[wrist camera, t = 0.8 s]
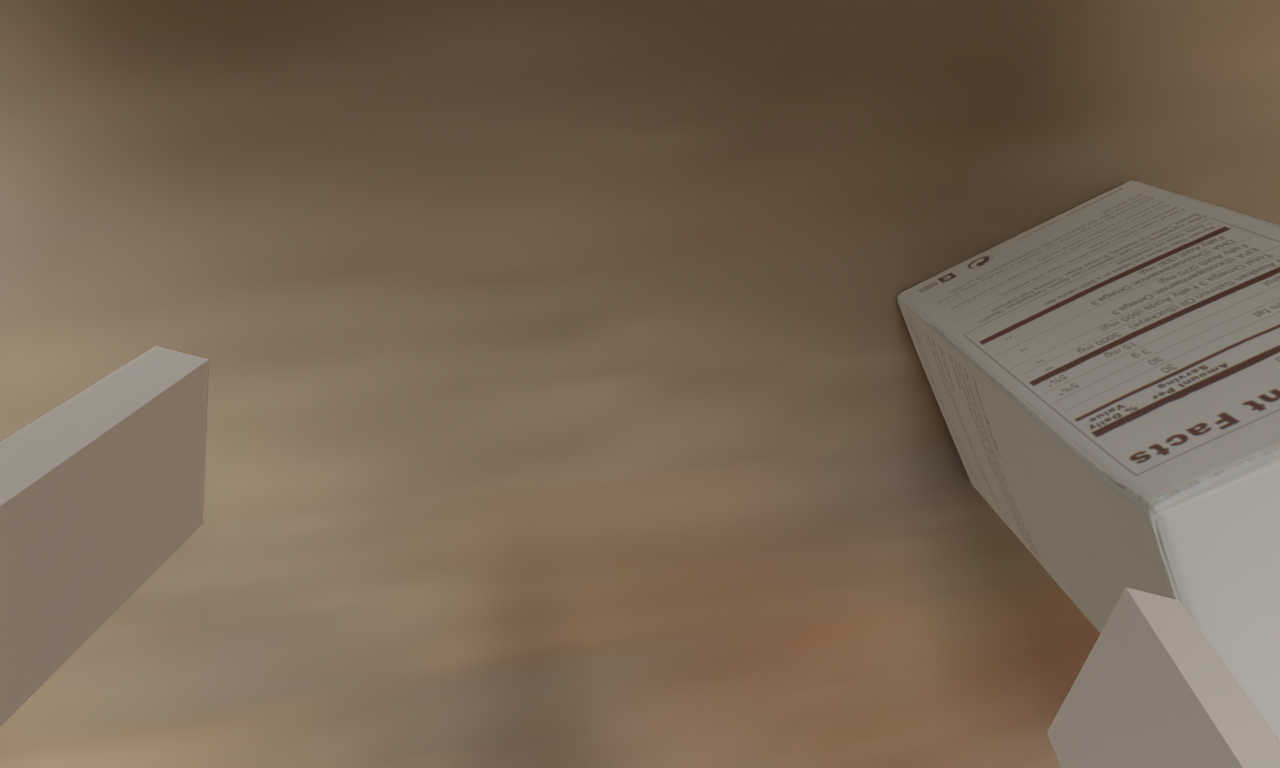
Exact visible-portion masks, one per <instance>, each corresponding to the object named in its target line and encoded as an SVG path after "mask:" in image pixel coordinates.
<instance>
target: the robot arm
mask: <svg viewBox="0 0 1280 768" xmlns="http://www.w3.org/2000/svg"><path fill="white" fill-rule="evenodd" d="M208 372H209V359H206V358H202V357H198V356H194V355H190V354H186V353H182V352H178V351H174V350H170V349H166V348H162V347H158V346H155V347H153V348H151V349H150V350H148V351H146V352H145V353H143V354H142V355H140V356H138V357H137V358H135V359H133V360H132V361H130V362H129V363H127V364H125V365H124V366H122V367H120V368H119V369H117V370H116V371H114V372H112V373H111V374H109V375H107V376H106V377H104V378H103V379H101V380H99V381H98V382H96V383H94V384H93V385H91V386H90V387H88V388H86V389H85V390H83V391H81V392H80V393H78V394H77V395H75V396H73V397H72V398H70V399H68V400H67V401H65V402H64V403H62V404H60V405H59V406H57V407H55V408H54V409H52V410H51V411H49V412H47V413H46V414H44V415H42V416H41V417H39V418H38V419H36V420H34V421H33V422H31V423H29V424H28V425H26V426H25V427H23V428H21V429H20V430H18V431H16V432H15V433H13V434H12V435H10V436H8V437H7V438H5V439H3V440H2V441H0V726H1V725H2V724H3V723H4V722H5V721H6V720H7V719H8V718H9V717H10V716H11V715H12V714H13V713H14V712H15V711H16V710H17V709H18V708H19V707H20V706H21V705H22V704H23V703H24V702H25V701H26V700H27V699H28V698H29V697H30V696H31V695H32V694H33V693H34V692H35V691H36V690H37V689H38V688H39V687H40V686H41V685H42V684H43V683H44V682H45V681H46V680H47V679H48V678H49V677H50V676H51V675H52V674H53V673H54V672H55V671H56V670H57V669H58V668H59V667H60V666H61V665H62V664H63V663H64V662H65V661H66V660H67V659H68V658H69V657H70V656H71V655H72V654H73V653H74V652H75V651H76V650H77V649H78V648H79V647H80V646H81V645H82V644H83V643H84V642H85V641H86V640H87V639H88V638H89V637H90V636H91V635H92V634H93V633H94V632H95V631H96V630H97V629H98V628H99V627H100V626H101V625H102V624H103V623H104V622H105V621H106V620H107V619H108V618H109V617H110V616H111V615H112V614H113V613H114V612H115V611H116V610H117V609H118V608H119V607H120V606H121V605H122V604H123V603H124V602H125V601H126V600H127V599H128V598H129V597H130V596H131V595H132V594H133V593H134V592H135V591H136V590H137V589H138V588H139V587H140V586H141V585H142V584H143V583H144V582H145V581H146V580H147V579H148V578H149V577H150V576H151V575H152V574H153V573H154V572H155V571H156V570H157V569H158V568H159V567H160V566H161V565H162V564H163V563H164V562H165V561H166V560H167V559H168V558H169V557H170V556H171V555H172V554H173V553H174V552H175V551H176V550H177V549H178V548H179V547H180V546H181V545H182V544H183V543H184V542H185V541H186V540H187V539H188V538H189V537H190V536H191V535H192V534H193V533H194V532H195V531H196V530H197V529H198V528H199V527H200V526H201V525H202V524H203V506H204V479H205V452H206V426H207V399H208ZM1047 735H1048V738H1049V740H1050V742H1051V745H1052V747H1053V750H1054V752H1055V754H1056V757H1057V759H1058V762H1059V764H1060V766H1061V768H1280V740H1279V738H1278V737H1277V735H1276V734H1275V733H1274V731H1273V730H1272V728H1271V727H1270V726H1269V724H1268V723H1267V722H1266V720H1265V719H1264V717H1263V716H1262V715H1261V713H1260V712H1259V710H1258V709H1257V708H1256V706H1255V705H1254V704H1253V702H1252V701H1251V699H1250V698H1249V697H1248V695H1247V694H1246V692H1245V691H1244V690H1243V688H1242V687H1241V686H1240V684H1239V683H1238V681H1237V680H1236V679H1235V677H1234V676H1233V674H1232V673H1231V672H1230V670H1229V669H1228V667H1227V666H1226V665H1225V663H1224V662H1223V661H1222V659H1221V658H1220V656H1219V655H1218V654H1217V652H1216V651H1215V649H1214V648H1213V647H1212V645H1211V644H1210V643H1209V641H1208V640H1207V638H1206V637H1205V636H1204V634H1203V633H1202V631H1201V630H1200V629H1199V627H1198V626H1197V625H1196V623H1195V622H1194V620H1193V619H1192V618H1191V616H1190V615H1189V613H1188V612H1187V611H1186V609H1185V608H1184V607H1183V605H1182V604H1181V602H1180V601H1179V600H1175V599H1171V598H1167V597H1163V596H1159V595H1155V594H1151V593H1147V592H1143V591H1139V590H1135V589H1131V588H1127V587H1126V588H1125V589H1124V591H1123V593H1122V595H1121V597H1120V599H1119V600H1118V602H1117V604H1116V606H1115V608H1114V610H1113V612H1112V613H1111V615H1110V617H1109V619H1108V621H1107V623H1106V624H1105V626H1104V628H1103V630H1102V632H1101V634H1100V636H1099V637H1098V639H1097V641H1096V643H1095V645H1094V647H1093V648H1092V650H1091V652H1090V654H1089V656H1088V658H1087V660H1086V661H1085V663H1084V665H1083V667H1082V669H1081V671H1080V672H1079V674H1078V676H1077V678H1076V680H1075V682H1074V683H1073V685H1072V687H1071V689H1070V691H1069V693H1068V695H1067V696H1066V698H1065V700H1064V702H1063V704H1062V706H1061V707H1060V709H1059V711H1058V713H1057V715H1056V717H1055V719H1054V720H1053V722H1052V724H1051V726H1050V728H1049V730H1048V731H1047Z"/></svg>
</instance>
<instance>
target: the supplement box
mask: <svg viewBox="0 0 1280 768" xmlns="http://www.w3.org/2000/svg"><path fill="white" fill-rule="evenodd" d="M897 301H898V304H899V306H900V309H901V311H902V314H903V317H904V319H905V322H906V325H907V328H908V330H909V333H910V336H911V338H912V341H913V343H914V346H915V348H916V351H917V353H918V356H919V358H920V361H921V363H922V366H923V368H924V371H925V373H926V375H927V378H928V380H929V383H930V385H931V388H932V390H933V392H934V395H935V397H936V400H937V402H938V405H939V407H940V409H941V412H942V414H943V417H944V419H945V421H946V424H947V426H948V429H949V431H950V434H951V436H952V438H953V441H954V443H955V446H956V448H957V450H958V453H959V455H960V458H961V460H962V463H963V465H964V467H965V470H966V472H967V475H968V477H969V480H970V482H971V485H972V486H973V487H974V488H975V489H976V490H977V491H978V492H979V493H980V494H981V495H982V497H983V498H984V499H985V500H986V501H987V502H988V504H989V505H990V506H991V507H992V508H993V509H994V511H995V512H996V513H997V514H998V515H999V517H1000V518H1001V519H1002V520H1003V521H1004V523H1005V524H1006V525H1007V526H1008V527H1009V528H1010V529H1011V530H1012V532H1013V533H1014V534H1015V535H1016V536H1017V537H1018V538H1019V540H1020V541H1021V542H1022V543H1023V544H1024V545H1025V547H1026V548H1027V549H1028V550H1029V551H1030V552H1031V553H1032V555H1033V556H1034V557H1035V558H1036V559H1037V561H1038V562H1039V563H1040V564H1041V565H1042V566H1043V568H1044V569H1045V570H1046V571H1047V572H1048V573H1049V575H1050V576H1051V577H1052V578H1053V579H1054V580H1055V582H1056V583H1057V584H1058V585H1059V586H1060V587H1061V589H1062V590H1063V591H1064V592H1065V593H1066V594H1067V596H1068V597H1069V598H1070V599H1071V600H1072V601H1073V603H1074V604H1075V605H1076V606H1077V607H1078V608H1079V610H1080V611H1081V612H1082V613H1083V614H1084V615H1085V617H1086V618H1087V619H1088V620H1089V621H1090V622H1091V623H1092V625H1093V626H1094V627H1095V628H1096V629H1097V630H1098V632H1099V633H1100V634H1101V632H1102V630H1103V628H1104V626H1105V624H1106V623H1107V621H1108V619H1109V617H1110V615H1111V613H1112V612H1113V610H1114V608H1115V606H1116V604H1117V602H1118V600H1119V599H1120V597H1121V595H1122V593H1123V591H1124V589H1125V588H1126V587H1127V588H1131V589H1135V590H1139V591H1143V592H1147V593H1151V594H1155V595H1159V596H1163V597H1167V598H1171V599H1175V600H1179V601H1180V602H1181V604H1182V605H1183V607H1184V608H1185V609H1186V611H1187V612H1188V613H1189V615H1190V616H1191V618H1192V619H1193V620H1194V622H1195V623H1196V625H1197V626H1198V627H1199V629H1200V630H1201V631H1202V633H1203V634H1204V636H1205V637H1206V638H1207V640H1208V641H1209V643H1210V644H1211V645H1212V647H1213V648H1214V649H1215V651H1216V652H1217V654H1218V655H1219V656H1220V658H1221V659H1222V661H1223V662H1224V663H1225V665H1226V666H1227V667H1228V669H1229V670H1230V672H1231V673H1232V674H1233V676H1234V677H1235V679H1236V680H1237V681H1238V683H1239V684H1240V686H1241V687H1242V688H1243V690H1244V691H1245V692H1246V694H1247V695H1248V697H1249V698H1250V699H1251V701H1252V702H1253V704H1254V705H1255V706H1256V708H1257V709H1258V710H1259V712H1260V713H1261V715H1262V716H1263V717H1264V719H1265V720H1266V722H1267V723H1268V724H1269V726H1270V727H1271V728H1272V730H1273V731H1274V733H1275V734H1276V735H1277V737H1278V738H1279V740H1280V225H1278V224H1275V223H1271V222H1268V221H1264V220H1261V219H1257V218H1254V217H1251V216H1248V215H1245V214H1242V213H1239V212H1236V211H1233V210H1230V209H1227V208H1223V207H1219V206H1216V205H1212V204H1209V203H1206V202H1203V201H1200V200H1197V199H1194V198H1191V197H1188V196H1185V195H1181V194H1178V193H1175V192H1171V191H1168V190H1165V189H1161V188H1158V187H1155V186H1152V185H1148V184H1145V183H1142V182H1138V181H1129V182H1127V183H1125V184H1123V185H1121V186H1119V187H1117V188H1114V189H1112V190H1110V191H1108V192H1105V193H1103V194H1101V195H1099V196H1097V197H1095V198H1092V199H1090V200H1088V201H1086V202H1084V203H1082V204H1080V205H1078V206H1076V207H1074V208H1072V209H1070V210H1068V211H1066V212H1064V213H1062V214H1059V215H1057V216H1055V217H1053V218H1051V219H1050V220H1048V221H1046V222H1043V223H1041V224H1039V225H1037V226H1035V227H1033V228H1032V229H1029V230H1027V231H1025V232H1022V233H1020V234H1018V235H1017V236H1015V237H1013V238H1010V239H1008V240H1006V241H1004V242H1002V243H1000V244H998V245H996V246H994V247H992V248H990V249H988V250H986V251H984V252H982V253H980V254H978V255H975V256H973V257H971V258H969V259H968V260H965V261H963V262H961V263H959V264H957V265H955V266H953V267H951V268H949V269H947V270H945V271H943V272H941V273H939V274H937V275H936V276H934V277H931V278H929V279H927V280H925V281H923V282H921V283H919V284H917V285H915V286H913V287H911V288H909V289H907V290H905V291H903V292H902V293H900V294H899V295H898V296H897Z"/></svg>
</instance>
